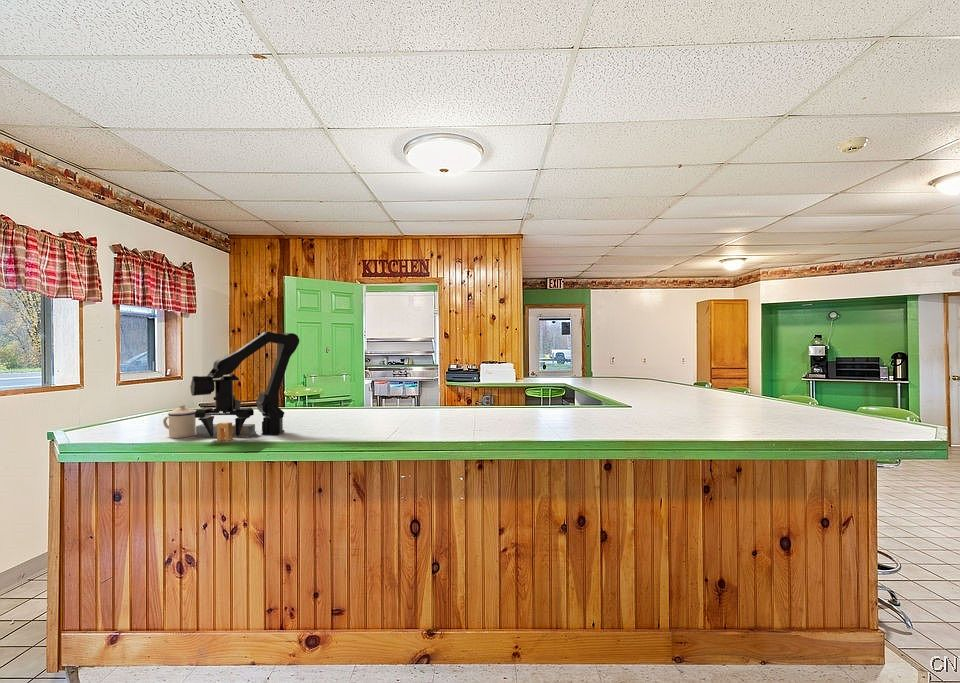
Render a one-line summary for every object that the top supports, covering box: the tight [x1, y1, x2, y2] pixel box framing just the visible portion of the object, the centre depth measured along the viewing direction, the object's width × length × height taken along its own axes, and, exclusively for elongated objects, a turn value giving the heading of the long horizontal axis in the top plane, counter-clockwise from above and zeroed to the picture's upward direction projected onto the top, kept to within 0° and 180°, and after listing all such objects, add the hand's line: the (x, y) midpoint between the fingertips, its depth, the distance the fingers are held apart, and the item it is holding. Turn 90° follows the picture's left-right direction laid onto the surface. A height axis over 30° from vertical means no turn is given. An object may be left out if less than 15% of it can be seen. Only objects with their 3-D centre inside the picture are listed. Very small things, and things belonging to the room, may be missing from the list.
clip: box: [216, 422, 233, 442], centre depth 181 cm, size 4×3×6 cm
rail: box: [194, 423, 257, 439], centre depth 188 cm, size 20×6×4 cm, turn 91°
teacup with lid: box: [162, 404, 197, 439], centre depth 188 cm, size 12×9×12 cm
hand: (224, 436), depth 181 cm, fingers open, 9 cm apart
